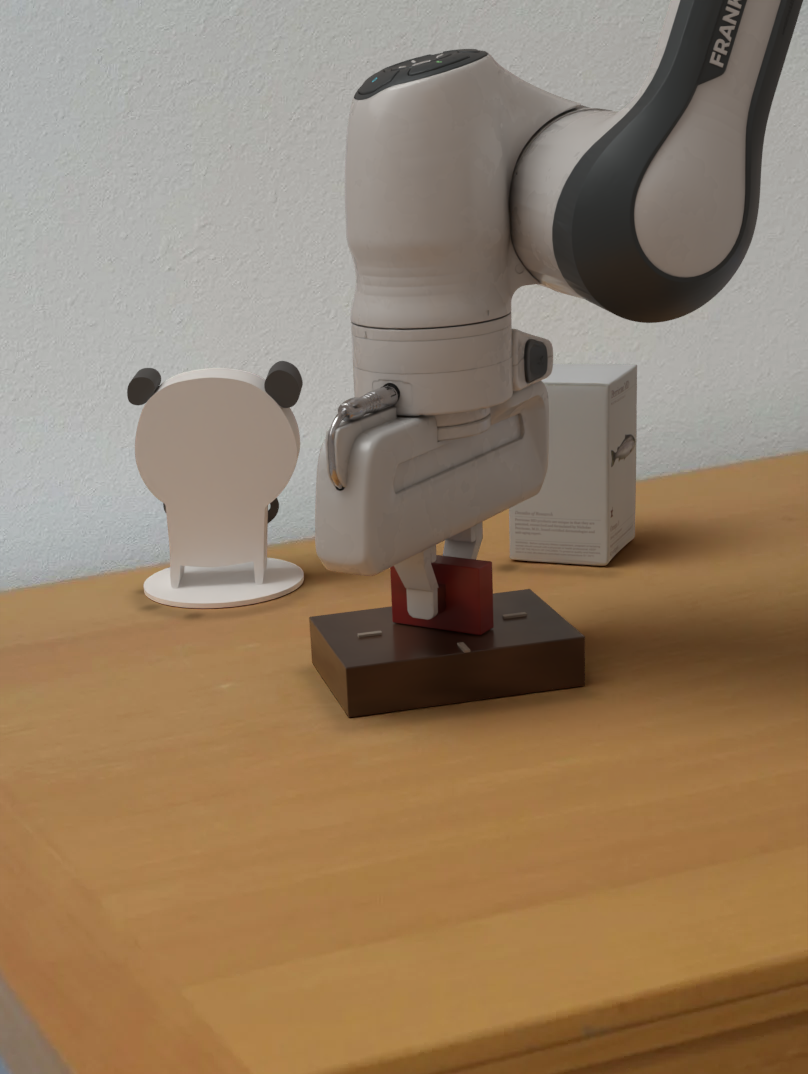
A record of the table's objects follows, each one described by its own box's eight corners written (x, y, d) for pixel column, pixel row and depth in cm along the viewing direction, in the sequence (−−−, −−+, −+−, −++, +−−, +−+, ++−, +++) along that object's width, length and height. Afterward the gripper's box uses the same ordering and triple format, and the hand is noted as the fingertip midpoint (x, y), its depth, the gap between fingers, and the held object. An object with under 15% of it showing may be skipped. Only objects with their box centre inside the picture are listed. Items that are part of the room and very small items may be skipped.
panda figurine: (317, 556, 133) (304, 348, 127) (309, 603, 123) (294, 379, 117) (154, 564, 134) (134, 359, 128) (133, 611, 124) (110, 390, 118)
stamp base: (530, 634, 114) (529, 585, 113) (586, 686, 105) (586, 634, 103) (311, 662, 112) (308, 613, 111) (348, 718, 103) (345, 665, 101)
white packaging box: (608, 567, 125) (609, 383, 120) (506, 561, 129) (502, 381, 124) (638, 539, 131) (640, 361, 126) (540, 533, 135) (538, 360, 130)
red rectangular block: (494, 627, 106) (492, 557, 104) (480, 635, 105) (478, 564, 103) (406, 615, 109) (403, 546, 108) (392, 622, 108) (388, 553, 106)
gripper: (379, 410, 92) (391, 669, 97) (567, 339, 107) (569, 567, 112) (277, 403, 95) (295, 654, 101) (473, 335, 110) (479, 557, 116)
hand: (440, 608), depth 107 cm, fingers closed on red rectangular block, 2 cm apart
